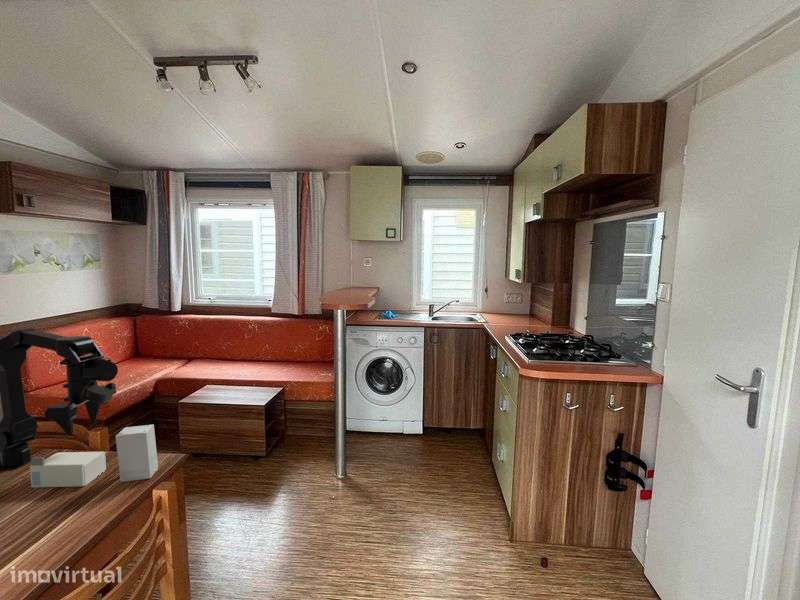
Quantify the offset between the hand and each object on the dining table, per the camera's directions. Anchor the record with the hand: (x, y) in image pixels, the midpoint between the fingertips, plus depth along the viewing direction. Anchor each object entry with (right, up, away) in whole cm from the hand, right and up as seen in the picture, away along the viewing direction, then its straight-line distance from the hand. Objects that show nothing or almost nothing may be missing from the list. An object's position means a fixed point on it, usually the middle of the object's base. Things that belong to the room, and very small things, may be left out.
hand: (82, 428), depth 111 cm
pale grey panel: (0, -14, -7) cm, 16 cm away
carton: (-1, -14, -3) cm, 14 cm away
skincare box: (+18, -14, -1) cm, 23 cm away
